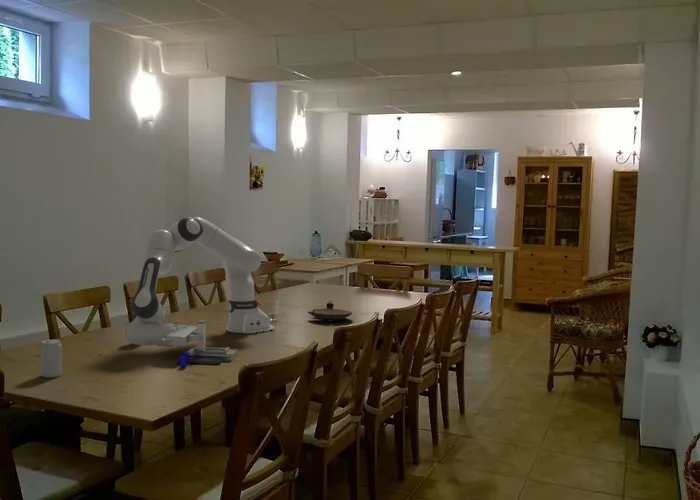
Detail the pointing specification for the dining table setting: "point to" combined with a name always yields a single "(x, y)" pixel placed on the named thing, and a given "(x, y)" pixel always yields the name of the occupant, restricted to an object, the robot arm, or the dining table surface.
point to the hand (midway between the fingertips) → (203, 336)
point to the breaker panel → (213, 353)
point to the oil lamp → (330, 313)
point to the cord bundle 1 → (205, 361)
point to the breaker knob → (201, 331)
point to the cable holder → (184, 360)
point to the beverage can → (51, 358)
